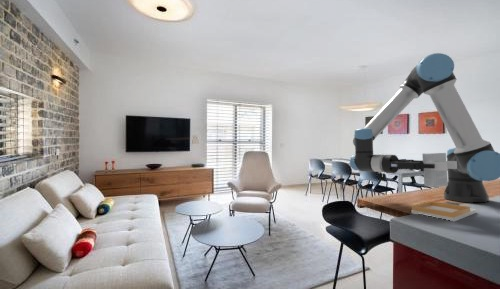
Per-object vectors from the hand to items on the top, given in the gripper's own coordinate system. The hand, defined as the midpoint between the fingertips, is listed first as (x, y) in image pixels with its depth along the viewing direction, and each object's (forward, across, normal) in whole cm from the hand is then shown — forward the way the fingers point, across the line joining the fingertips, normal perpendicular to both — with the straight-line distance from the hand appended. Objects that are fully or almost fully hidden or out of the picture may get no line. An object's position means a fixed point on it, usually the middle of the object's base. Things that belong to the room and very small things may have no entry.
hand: (451, 165), depth 84 cm
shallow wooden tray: (-5, -4, -18) cm, 19 cm away
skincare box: (-5, 0, -8) cm, 9 cm away
